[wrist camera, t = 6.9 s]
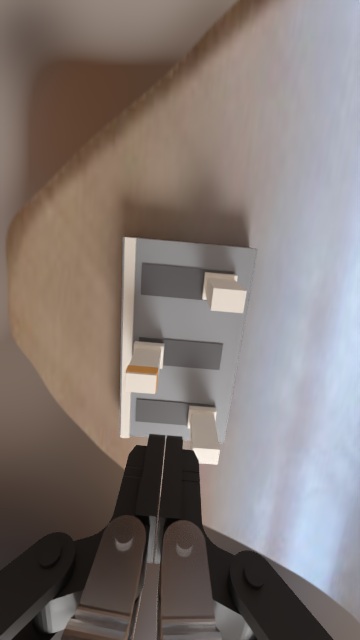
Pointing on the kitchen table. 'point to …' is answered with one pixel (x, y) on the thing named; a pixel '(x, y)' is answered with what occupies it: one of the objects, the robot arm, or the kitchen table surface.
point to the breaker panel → (184, 336)
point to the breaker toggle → (144, 367)
